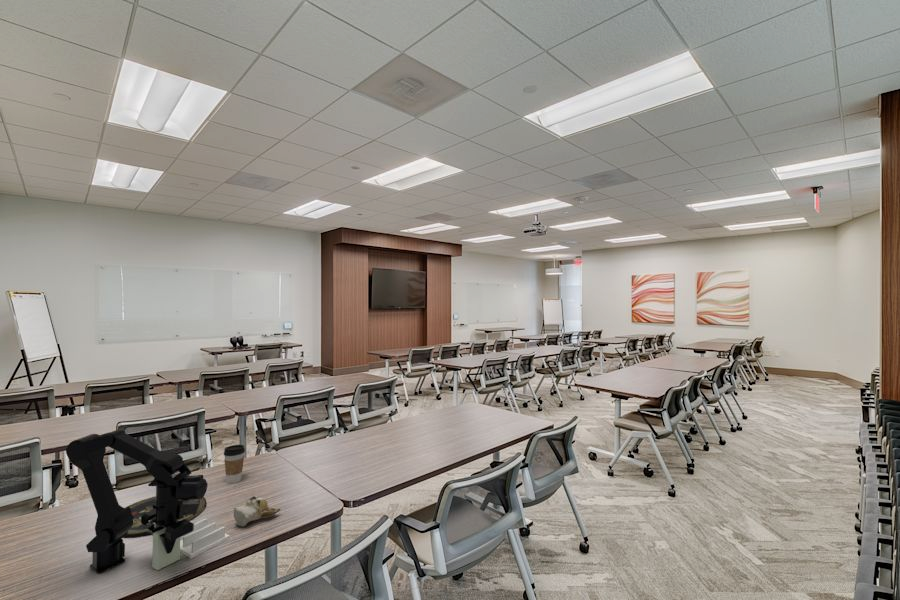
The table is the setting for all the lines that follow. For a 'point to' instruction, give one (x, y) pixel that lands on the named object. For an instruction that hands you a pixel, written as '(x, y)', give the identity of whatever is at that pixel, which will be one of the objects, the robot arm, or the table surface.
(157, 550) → the sage tile
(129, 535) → the decorative plate
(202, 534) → the dish rack
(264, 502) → the ceramic sculpture
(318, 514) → the table surface
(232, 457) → the coffee cup
